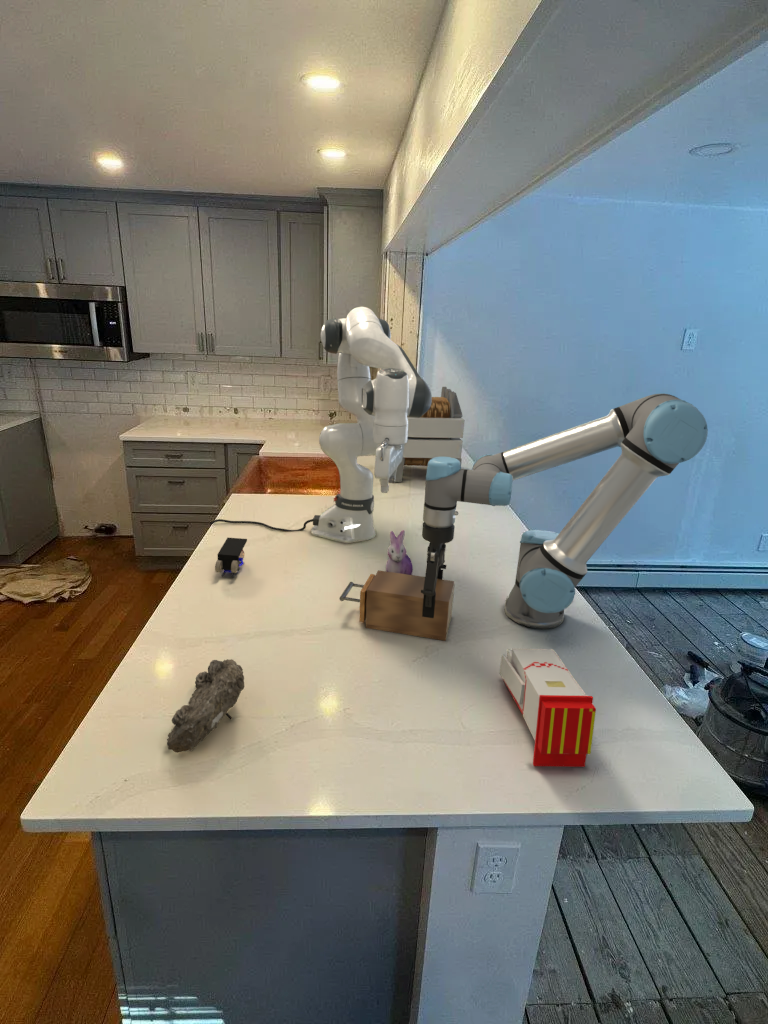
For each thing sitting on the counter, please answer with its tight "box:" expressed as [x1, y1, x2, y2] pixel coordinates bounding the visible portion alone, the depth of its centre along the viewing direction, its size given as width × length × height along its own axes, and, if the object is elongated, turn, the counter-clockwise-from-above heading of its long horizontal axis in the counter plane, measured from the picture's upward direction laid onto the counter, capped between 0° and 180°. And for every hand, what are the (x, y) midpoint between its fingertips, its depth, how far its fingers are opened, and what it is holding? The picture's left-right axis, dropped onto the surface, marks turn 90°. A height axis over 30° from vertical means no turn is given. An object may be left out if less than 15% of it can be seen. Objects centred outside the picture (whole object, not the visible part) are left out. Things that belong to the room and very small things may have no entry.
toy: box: [499, 648, 597, 768], centre depth 111 cm, size 12×13×30 cm
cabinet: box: [365, 570, 456, 642], centre depth 142 cm, size 20×11×11 cm, turn 77°
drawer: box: [338, 573, 376, 623], centre depth 143 cm, size 24×10×8 cm, turn 77°
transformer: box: [394, 386, 465, 483], centre depth 268 cm, size 34×33×41 cm
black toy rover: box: [214, 537, 248, 578], centre depth 166 cm, size 7×8×15 cm
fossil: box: [166, 658, 245, 754], centre depth 106 cm, size 22×10×15 cm
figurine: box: [385, 529, 414, 575], centre depth 164 cm, size 9×10×15 cm
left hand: (388, 487), depth 148 cm, fingers open, 8 cm apart
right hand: (432, 604), depth 140 cm, fingers open, 12 cm apart
